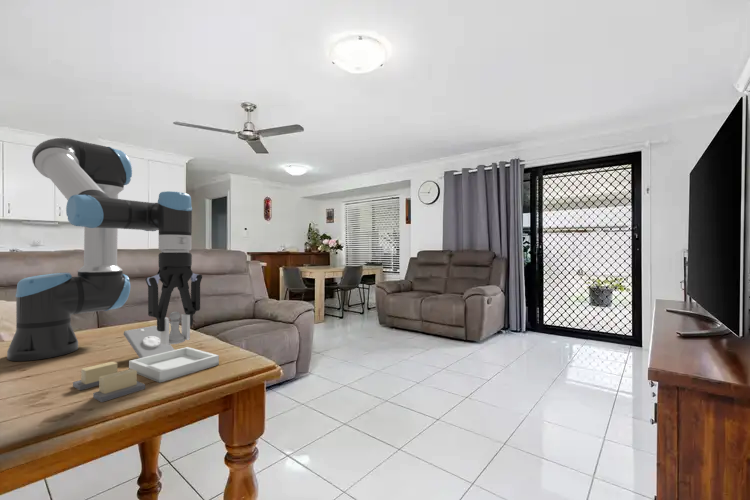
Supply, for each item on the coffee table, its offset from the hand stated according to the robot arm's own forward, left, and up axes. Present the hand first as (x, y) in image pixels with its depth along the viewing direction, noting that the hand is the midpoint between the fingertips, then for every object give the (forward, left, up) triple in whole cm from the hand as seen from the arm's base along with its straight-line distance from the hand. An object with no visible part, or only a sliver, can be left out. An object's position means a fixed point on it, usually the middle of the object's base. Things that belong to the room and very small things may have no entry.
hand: (175, 341), depth 90 cm
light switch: (-14, +1, -7) cm, 16 cm away
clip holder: (+1, -15, -7) cm, 17 cm away
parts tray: (0, 0, -7) cm, 7 cm away
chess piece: (0, 0, -1) cm, 1 cm away
